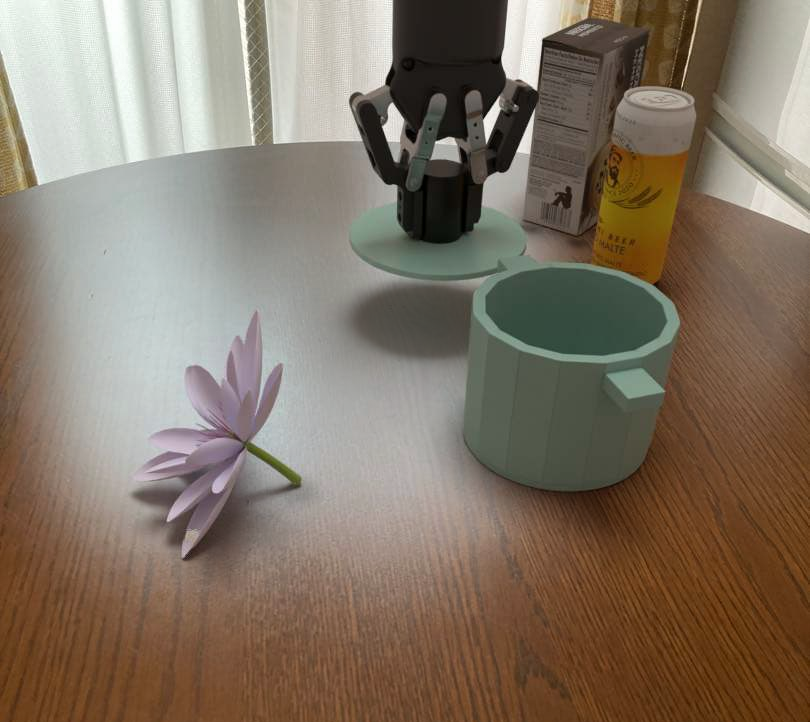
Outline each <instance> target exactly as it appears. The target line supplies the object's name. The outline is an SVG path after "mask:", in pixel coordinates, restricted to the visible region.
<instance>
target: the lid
mask: <svg viewBox="0 0 810 722" xmlns="http://www.w3.org/2000/svg"><path fill="white" fill-rule="evenodd" d="M465 180H466V168H465V166H464V165H462V164H461V163H460V162H458V161H455V160H451V159H443V158H436V159H430V160H428V162H427V165H426V169H425V173H424V177H423V181H422V185H421V187H420V188H421V189H422V190H423V216H422V236H421V238H416V239H411V238H410V237H409V236H408V234H407V233H406V232H405V231H404V230H403V229H402V228H401V226H400V225H399V223H398V220H397V201H395V202H390V203H387V204H383V205H379V206H377V207H375V208H372V209H370V210H368V211H366V212H363V214H361V215H359V216H358V217H357V218H356V219H355V220H354V222H352V224H351V227H350V229H349V233H348V234H349V235H348V237H349V240H348V241H349V244H350V247H351V249H352V251H353V253H354V254H355V255H356V256H357V257H359V258H360V259H361V260H362V261H363V262H365V263H367V264H368V265H370V266H372V267H374V268H376V269H377V270H380V271H383V272H386V273H388V274H392V275H396V276H400V277H404V278H408V279H414V280H415V279H416V280H421V281H422V280H423V281H434V282H455V281H456V282H457V281H467V280H474V279H475V280H476V279H480V278H484V277H490V276H493V275H496V274H498V273H497V266H498V259H501V258H508V257H516V256H523V255H525V253H526V250H527V245H528V237H527V233H526V231H525V230H524V228H523V227H522V226H521V225H520V223H518V222H517V221H516V220H515V219H514V218H512V217H511V216H509V215H507V214H506V213H503V212H501V211H498V210H496V209H495V208H491V207H488V206H486V205H482V208H481V217H480V220H479V222H478V223H475V224H474V229H473V231H472V232H464V233H463V232H462V223H463V209H464V194H465Z"/></svg>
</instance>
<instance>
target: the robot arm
mask: <svg viewBox="0 0 810 722" xmlns="http://www.w3.org/2000/svg"><path fill="white" fill-rule="evenodd" d="M508 7H509V0H392V20H391V21H392V23H391V24H392V25H391V26H392V27H391V28H392V29H391V30H392V32H391V54H392V55H391V57H392V60H391V65H390V68H389V71H388V72H387V74H386V77H385V81H384V85H382V86H380V87H378V88H376V89H374V90H372V91H370V92H368V93H366V94H364V93H363V92H361V91H355V92H353V93H352V94H351V95H350V96H349V99H348V105H349V108H350V110H351V113H352V116H353V119H354V122H355V123H356V124H355V125H356V127H357V129H358V132H359V135H360V138H361V141H362V143H363V146H364V149H365V151H366V154H367V156H368V160H369V162H370V164H371V168H372V170H373V171H374V173H376V175H377V176H378V177H379V179H381V181H382V182H383V183H384V184H385V185H387V186H392V185H395V186H396V202H397V220H398V223H399V225H400V226H401V228H402V229H403V230H404V231H405V232H406V233H407V234H408V236H409V237H410V238H411V239H416V238H421V236H422V216H423V190H422V189H421V188H420V187H421V185H422V181H423V177H424V173H425V169H426V165H427V162H428V160H432V156H433V153H434V149H435V145H436V142H439V141H442V140H444V139H447V138H452V139H454V142H455V144H456V147H457V152H458V153H457V154H458V160H459V163H461V164H462V165H464V166H465V168H466V180H465V194H464V209H463V223H462V232H463V233H464V232H472V231H473V229H474V224H475V223H478V222H479V220H480V217H481V208H482V206H483V204H482V203H483V196H484V194H483V193H484V185H485V182H486V181H487V179H488V178H489V177H490V176H492V175H494V174H496V173H499V174H505V173H507V172H508V171H509V170H510V168H511V166H512V164H513V161H514V159H515V156H516V154H517V153H518V149H519V147H520V145H521V143H522V140H523V138H524V135H525V133H526V130H527V128H528V126H529V123H530V121H531V118H532V116H533V115H534V113H535V107H536V105H537V102H538V100H539V94H538V92H537V89H535V88H534V87H533V86H532V85H530V84H529V83H528V82H526V81H523V80H522V79H520V78H517V79H515V80H514V79H511V78H509V77H507V74H506V71H505V69H504V67H503V66H504V65H503V61H502V58H503V53H504V49H505V43H506V42H505V40H506V32H507V31H506V29H507V19H508ZM498 99H499V100H498ZM497 101H498V106H499V109H500V110H499V112H498V115H497V117H496V119H495V122H494V124H493V127H492V130H491V132H490V134H489V138H488V140H487V138H486V131H485V123H484V120H485V118H486V117H487V115H488V114H489V112H490V111H491V109H492V108H493V107H494V105H495V104H496V102H497ZM391 104H393V105H394V106H395V108H396V110H397V112H398V113H399V115H400V116H401V118H403V122H402V123H403V124H402V128H401V133H400V137H399V145H400V150H399V153H398V158H397V161H395V160H394V157H393V153H392V151H391V147H390V146H389V142H388V139H387V137H386V133H385V131H384V128H383V127H384V126H385V125H386V124H387V123H388V121H389V112H388V111H389V107H390V105H391Z"/></svg>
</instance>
